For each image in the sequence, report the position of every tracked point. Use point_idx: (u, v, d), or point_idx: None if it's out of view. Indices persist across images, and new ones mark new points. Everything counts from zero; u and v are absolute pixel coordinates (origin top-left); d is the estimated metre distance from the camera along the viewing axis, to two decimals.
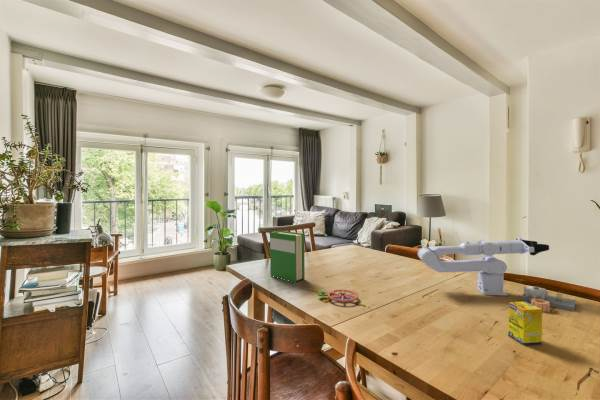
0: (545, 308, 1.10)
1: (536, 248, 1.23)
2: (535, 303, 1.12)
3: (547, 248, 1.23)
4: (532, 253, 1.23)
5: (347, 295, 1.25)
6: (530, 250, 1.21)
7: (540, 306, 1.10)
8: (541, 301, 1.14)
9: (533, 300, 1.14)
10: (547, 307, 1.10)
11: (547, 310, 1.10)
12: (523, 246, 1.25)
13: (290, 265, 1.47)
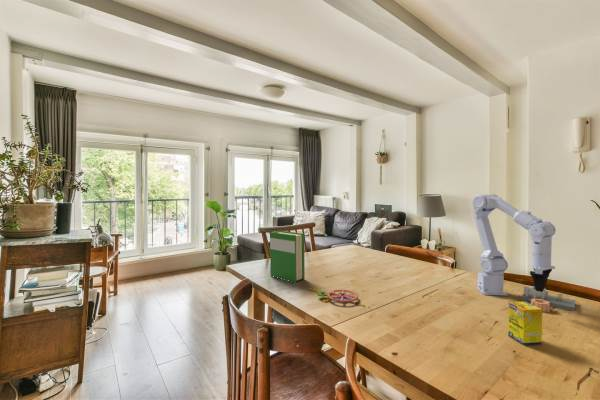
0: (545, 308, 1.10)
1: (539, 278, 1.09)
2: (535, 303, 1.12)
3: (538, 289, 1.10)
4: (532, 272, 1.10)
5: None
6: (538, 269, 1.07)
7: (540, 306, 1.10)
8: (541, 301, 1.14)
9: (533, 300, 1.14)
10: (547, 307, 1.10)
11: (547, 310, 1.10)
12: (542, 267, 1.10)
13: (290, 265, 1.47)
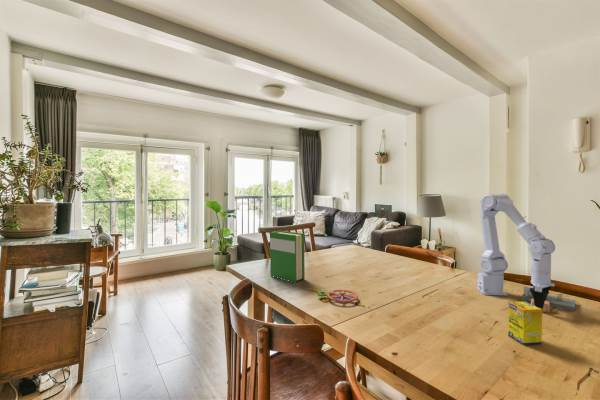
0: (545, 308, 1.10)
1: (538, 295, 1.10)
2: None
3: (537, 306, 1.10)
4: (532, 289, 1.10)
5: None
6: (537, 287, 1.07)
7: None
8: None
9: (533, 300, 1.14)
10: (547, 307, 1.10)
11: (547, 310, 1.10)
12: (541, 284, 1.10)
13: (290, 265, 1.47)
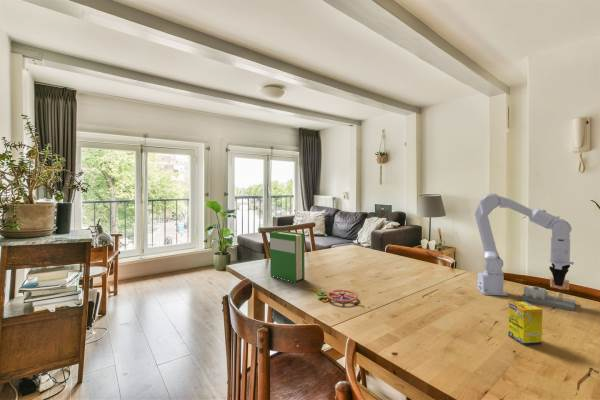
0: (565, 286, 1.14)
1: (558, 273, 1.14)
2: None
3: (557, 284, 1.14)
4: (552, 267, 1.14)
5: None
6: (557, 265, 1.11)
7: None
8: None
9: (552, 279, 1.17)
10: (566, 285, 1.14)
11: (566, 288, 1.14)
12: (561, 262, 1.14)
13: (290, 265, 1.47)
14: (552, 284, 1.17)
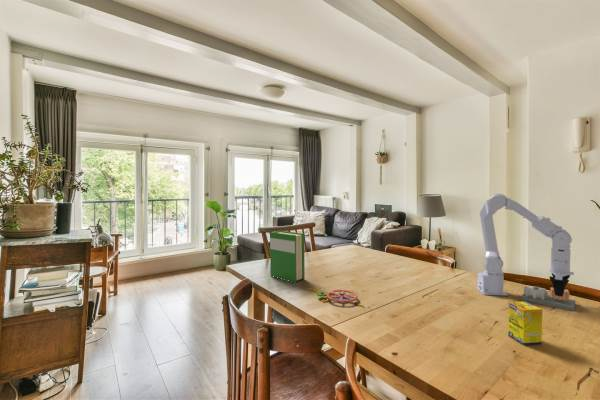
0: (565, 296, 1.14)
1: (558, 283, 1.14)
2: None
3: (557, 294, 1.15)
4: (552, 277, 1.15)
5: None
6: (557, 275, 1.12)
7: None
8: None
9: (553, 289, 1.18)
10: (567, 295, 1.14)
11: (567, 298, 1.14)
12: (561, 273, 1.14)
13: (290, 265, 1.47)
14: (552, 294, 1.17)
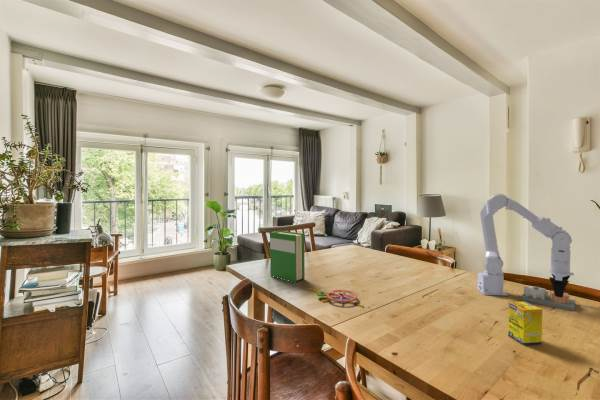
0: (565, 299, 1.14)
1: (558, 284, 1.14)
2: None
3: (557, 295, 1.14)
4: (552, 278, 1.14)
5: None
6: (557, 276, 1.12)
7: (560, 298, 1.15)
8: None
9: (552, 292, 1.18)
10: (567, 298, 1.14)
11: (567, 301, 1.14)
12: (561, 273, 1.14)
13: (290, 265, 1.47)
14: (552, 297, 1.17)
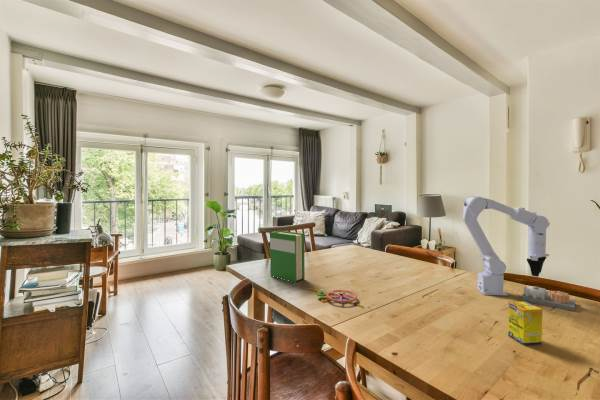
0: (565, 299, 1.14)
1: (534, 264, 1.23)
2: (555, 295, 1.16)
3: (533, 274, 1.23)
4: (529, 259, 1.23)
5: None
6: (533, 257, 1.21)
7: (560, 298, 1.15)
8: None
9: (552, 292, 1.18)
10: (567, 298, 1.14)
11: (567, 301, 1.14)
12: (537, 254, 1.23)
13: (290, 265, 1.47)
14: (552, 297, 1.17)
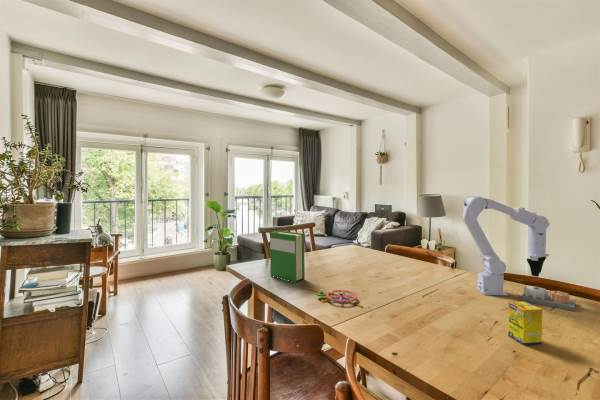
0: (565, 299, 1.14)
1: (534, 264, 1.23)
2: (555, 295, 1.16)
3: (533, 274, 1.23)
4: (529, 259, 1.23)
5: (346, 296, 1.24)
6: (533, 257, 1.21)
7: (560, 298, 1.15)
8: None
9: (552, 292, 1.18)
10: (567, 298, 1.14)
11: (567, 301, 1.14)
12: (537, 254, 1.23)
13: (290, 265, 1.47)
14: (552, 297, 1.17)
